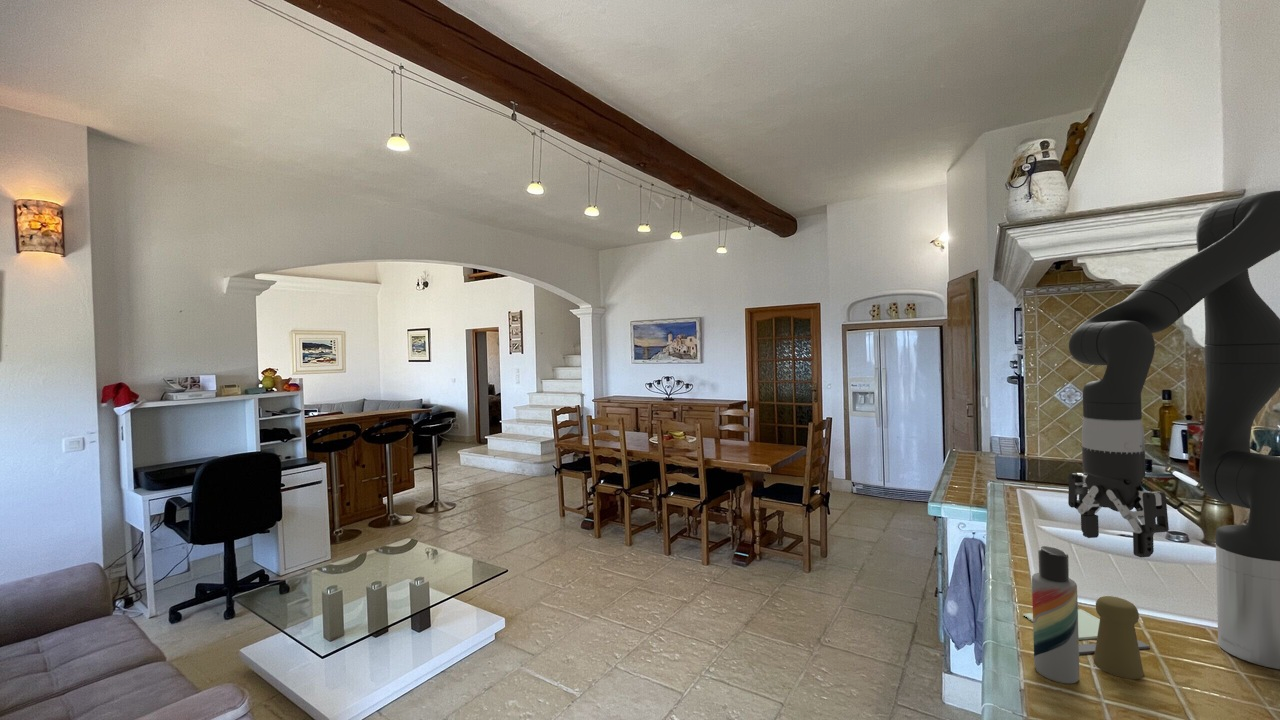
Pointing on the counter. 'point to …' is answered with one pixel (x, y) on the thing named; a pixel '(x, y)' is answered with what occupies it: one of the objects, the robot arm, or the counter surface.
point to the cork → (1118, 638)
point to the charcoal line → (1091, 647)
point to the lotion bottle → (1055, 618)
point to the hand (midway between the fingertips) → (1115, 546)
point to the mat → (1082, 624)
